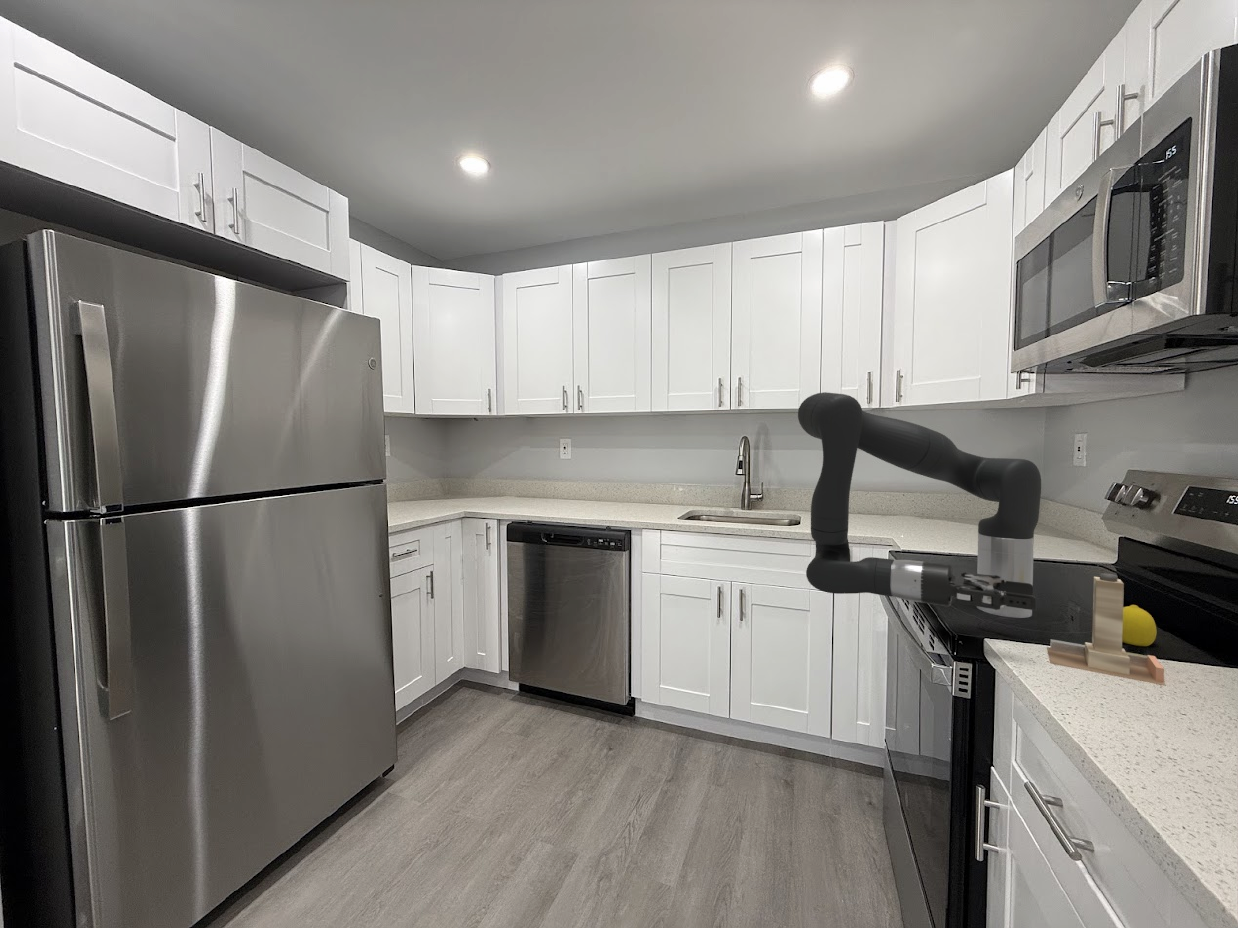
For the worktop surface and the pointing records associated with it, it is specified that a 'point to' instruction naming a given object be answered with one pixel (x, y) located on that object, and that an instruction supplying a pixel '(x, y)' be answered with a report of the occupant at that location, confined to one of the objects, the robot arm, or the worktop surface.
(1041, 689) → the worktop surface
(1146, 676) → the board
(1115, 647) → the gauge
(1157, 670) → the end stop
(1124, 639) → the lemon
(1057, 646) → the straightedge
